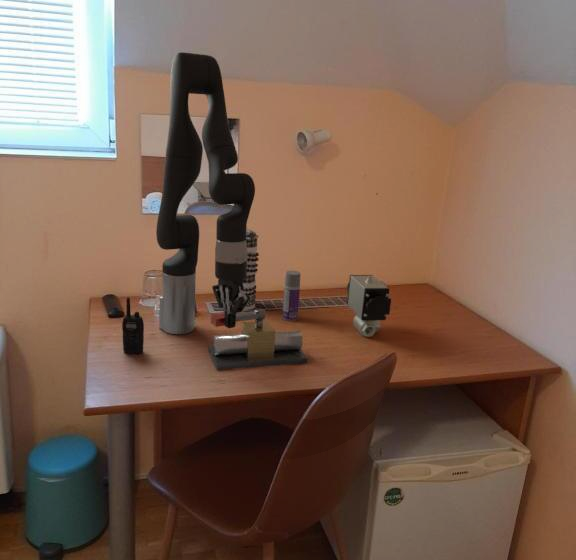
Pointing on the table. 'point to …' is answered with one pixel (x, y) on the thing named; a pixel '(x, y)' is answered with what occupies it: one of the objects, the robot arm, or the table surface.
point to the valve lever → (238, 317)
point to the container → (291, 295)
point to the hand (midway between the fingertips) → (230, 327)
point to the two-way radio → (132, 331)
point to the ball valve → (368, 302)
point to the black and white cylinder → (251, 269)
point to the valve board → (258, 360)
